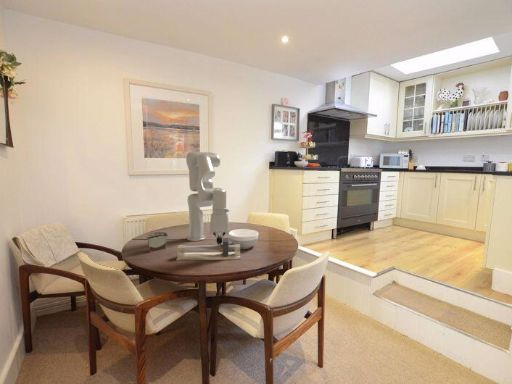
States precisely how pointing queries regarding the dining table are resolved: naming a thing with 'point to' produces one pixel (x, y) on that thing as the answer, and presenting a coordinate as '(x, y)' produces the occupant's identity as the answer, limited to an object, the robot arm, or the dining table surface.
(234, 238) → the bowl
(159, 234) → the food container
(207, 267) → the dining table surface
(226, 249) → the collar
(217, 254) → the pipe rig
